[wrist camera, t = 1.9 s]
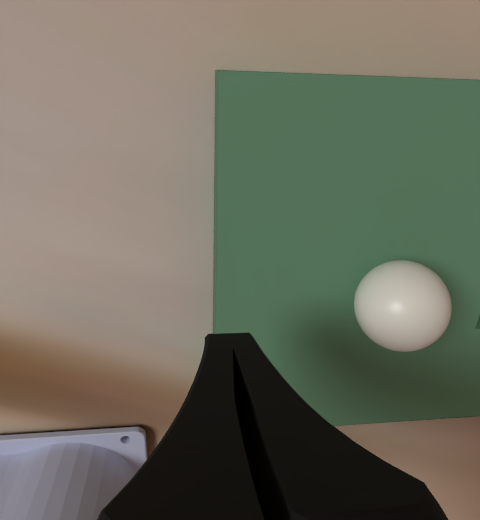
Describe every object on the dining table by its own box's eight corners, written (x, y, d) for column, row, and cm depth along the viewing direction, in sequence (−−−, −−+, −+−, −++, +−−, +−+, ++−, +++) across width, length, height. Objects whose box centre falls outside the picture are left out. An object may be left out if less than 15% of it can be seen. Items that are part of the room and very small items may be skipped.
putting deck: (212, 404, 22) (214, 434, 20) (215, 70, 15) (219, 70, 14) (539, 384, 24) (567, 410, 22) (666, 86, 18) (720, 88, 16)
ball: (336, 320, 18) (368, 373, 15) (347, 246, 17) (385, 288, 14) (412, 317, 19) (458, 369, 16) (429, 245, 17) (484, 285, 14)
